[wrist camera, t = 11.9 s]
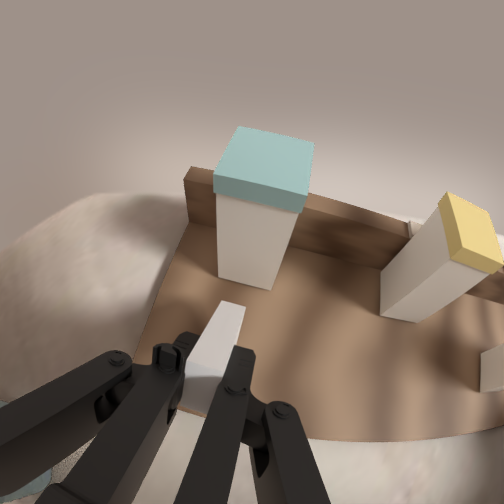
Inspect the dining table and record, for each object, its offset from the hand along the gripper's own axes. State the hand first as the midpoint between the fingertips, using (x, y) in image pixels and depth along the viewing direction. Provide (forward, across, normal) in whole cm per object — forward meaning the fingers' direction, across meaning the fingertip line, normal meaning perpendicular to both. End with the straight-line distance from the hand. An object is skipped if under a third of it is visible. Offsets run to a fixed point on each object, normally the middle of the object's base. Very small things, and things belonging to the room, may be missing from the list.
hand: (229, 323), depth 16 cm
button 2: (+6, 0, +2) cm, 6 cm away
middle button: (+6, +13, +2) cm, 15 cm away
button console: (+4, +13, -1) cm, 14 cm away
